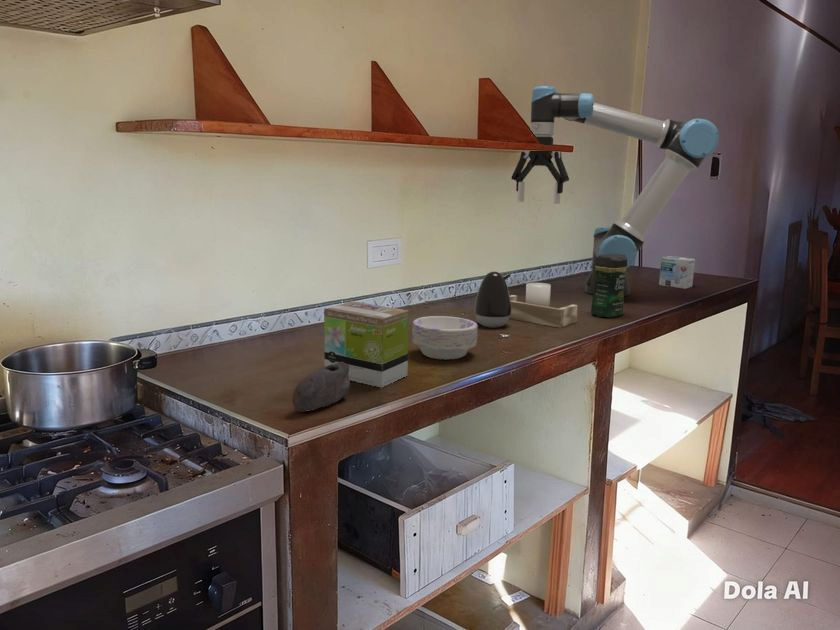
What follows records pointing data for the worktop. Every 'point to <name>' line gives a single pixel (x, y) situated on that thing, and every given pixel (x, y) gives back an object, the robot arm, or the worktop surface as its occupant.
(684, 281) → the light bulb box
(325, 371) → the perforated stone tool
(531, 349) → the worktop surface
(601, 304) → the coffee jar
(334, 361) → the tea box
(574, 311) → the rest cradle
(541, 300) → the white domed cylinder
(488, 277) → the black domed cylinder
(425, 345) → the paper bowls
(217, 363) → the worktop surface
